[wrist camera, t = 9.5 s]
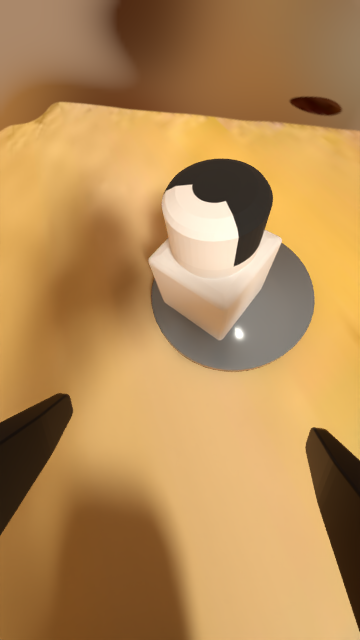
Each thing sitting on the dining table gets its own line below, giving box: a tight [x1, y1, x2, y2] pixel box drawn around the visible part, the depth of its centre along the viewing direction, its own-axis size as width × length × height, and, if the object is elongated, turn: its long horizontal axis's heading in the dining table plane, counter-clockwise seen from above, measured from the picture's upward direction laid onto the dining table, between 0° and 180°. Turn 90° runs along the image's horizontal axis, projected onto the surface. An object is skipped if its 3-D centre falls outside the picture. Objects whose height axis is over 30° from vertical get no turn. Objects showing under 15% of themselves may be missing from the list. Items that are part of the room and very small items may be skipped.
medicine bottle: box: [148, 159, 282, 340], centre depth 17 cm, size 7×7×12 cm
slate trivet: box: [151, 243, 314, 372], centre depth 24 cm, size 16×16×2 cm
